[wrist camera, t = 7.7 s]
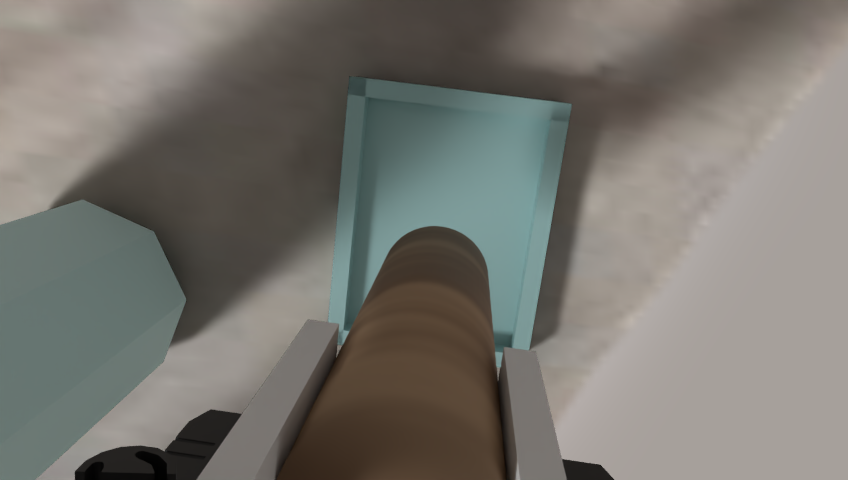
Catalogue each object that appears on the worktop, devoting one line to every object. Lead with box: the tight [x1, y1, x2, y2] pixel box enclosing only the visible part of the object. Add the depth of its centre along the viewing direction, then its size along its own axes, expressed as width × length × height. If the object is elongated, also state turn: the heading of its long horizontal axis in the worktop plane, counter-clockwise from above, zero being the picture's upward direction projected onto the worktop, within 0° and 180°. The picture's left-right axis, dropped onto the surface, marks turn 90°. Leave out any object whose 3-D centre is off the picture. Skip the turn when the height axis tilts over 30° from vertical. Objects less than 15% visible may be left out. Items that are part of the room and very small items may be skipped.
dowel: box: [276, 226, 507, 480], centre depth 17 cm, size 4×4×14 cm
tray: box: [328, 76, 572, 367], centre depth 31 cm, size 13×10×2 cm
